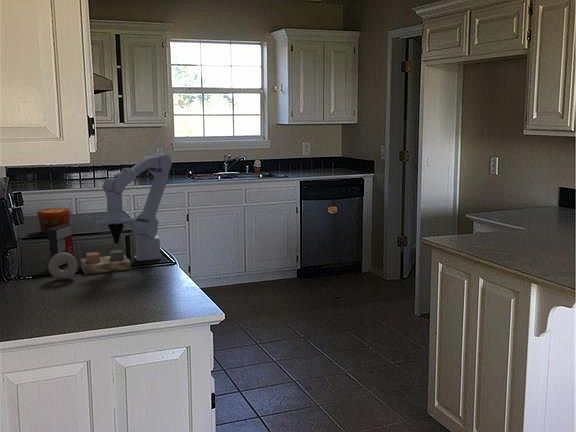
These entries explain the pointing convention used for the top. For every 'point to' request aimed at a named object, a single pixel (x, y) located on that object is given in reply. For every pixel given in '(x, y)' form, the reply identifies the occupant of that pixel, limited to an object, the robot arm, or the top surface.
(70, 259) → the donut
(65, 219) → the food container
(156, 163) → the robot arm
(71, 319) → the top surface
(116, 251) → the gray cube
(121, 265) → the tan flat rectangular block
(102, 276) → the top surface
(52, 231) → the grey and red box
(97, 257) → the brown cube
